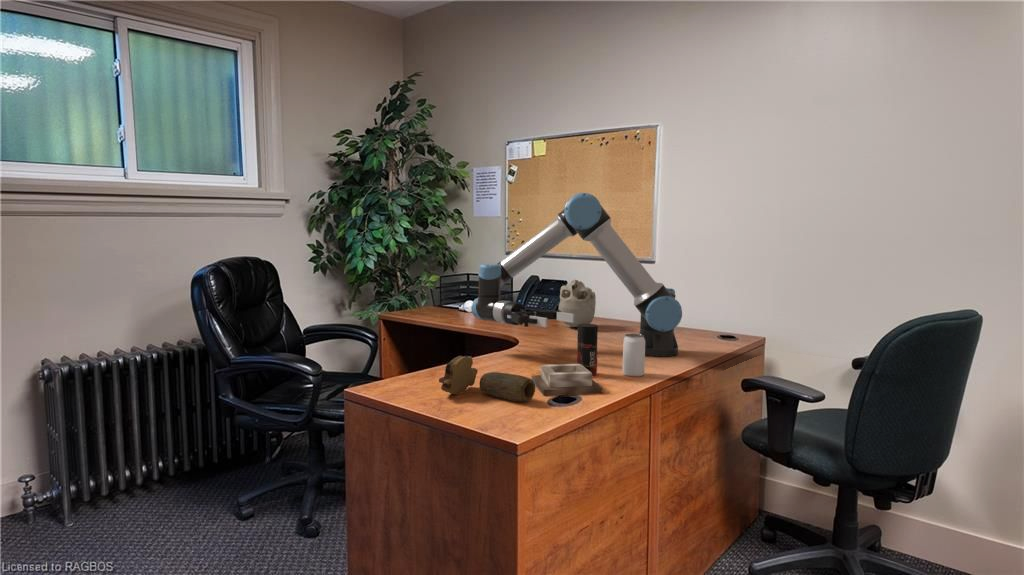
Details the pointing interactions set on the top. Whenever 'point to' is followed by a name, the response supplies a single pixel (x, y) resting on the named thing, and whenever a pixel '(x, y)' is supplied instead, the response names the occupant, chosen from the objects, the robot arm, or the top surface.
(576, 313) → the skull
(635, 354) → the can
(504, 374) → the olive hollow cylinder
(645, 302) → the robot arm
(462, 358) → the wooden carving
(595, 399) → the top surface
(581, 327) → the deodorant
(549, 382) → the socket
